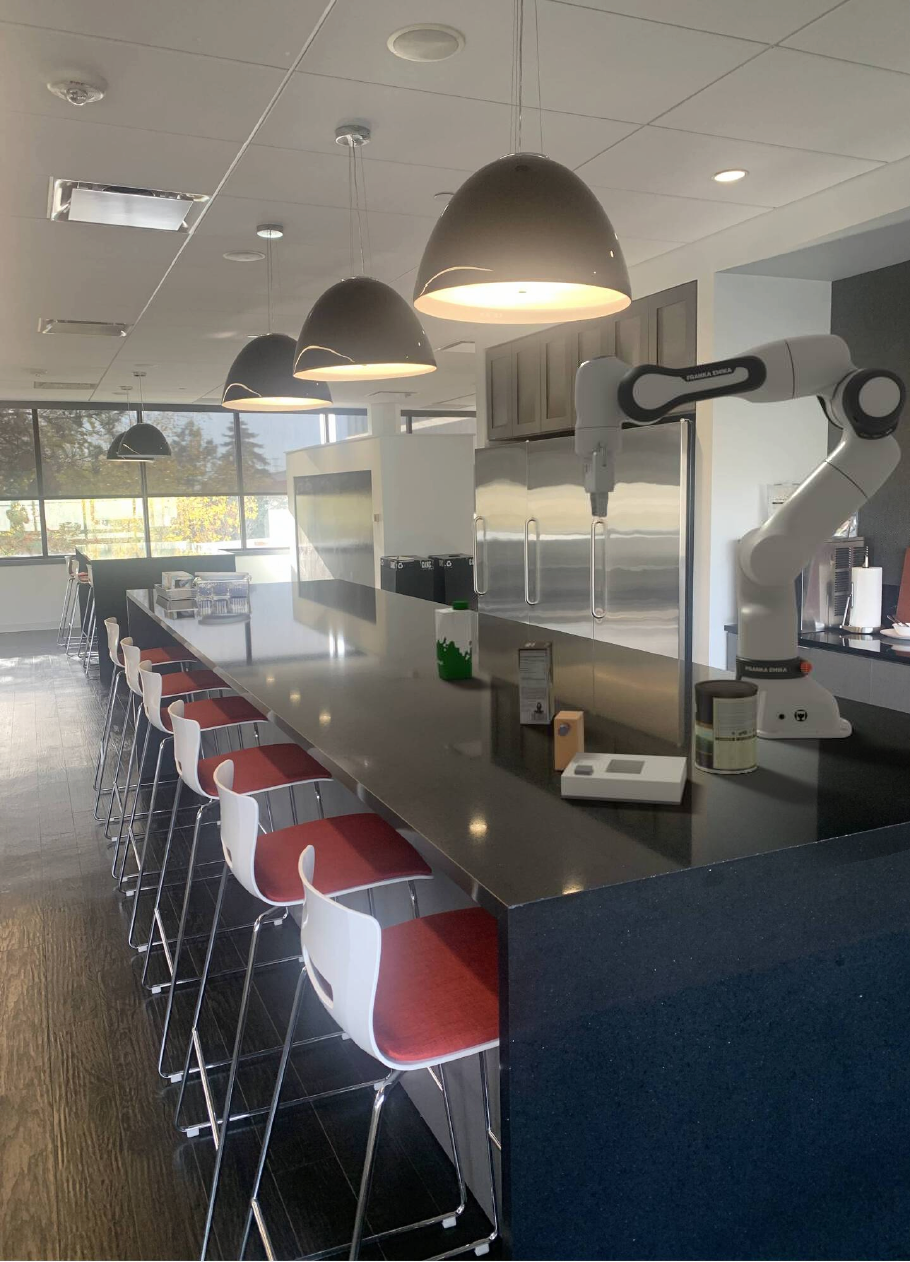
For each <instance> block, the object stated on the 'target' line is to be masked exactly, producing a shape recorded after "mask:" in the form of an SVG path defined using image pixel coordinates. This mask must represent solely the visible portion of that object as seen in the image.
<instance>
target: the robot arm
mask: <svg viewBox="0 0 910 1262" xmlns="http://www.w3.org/2000/svg"><path fill="white" fill-rule="evenodd" d="M851 359H852V358H851V351H850V348H849V346H848V345H847V343H846V342H845V340H844V339H843V338H842V337H841V336H838V335H837V334H834V333H833V334H832V333H831V334H829V333H827V334H826V333H825V334H823V333H822V334H821V333H820V334H819V333H818V334H808V335H807V334H805V335H797V336H794V337H788V338H782V339H777V340H774V341H769V342H765V343H763V344H759V345H757V346H754V347H752V348H749V349H747V350H745V351H743V352H740V353H738V354H736V355H734V356H732V357H729V358H726V359H723V360H719V361H713V362H708V363H702V364H697V365H691V366H686V367H679V368H671V367H665V366H661V365H657V364H650V363H646V364H645V363H644V364H641V365H637V366H635V367H634V366H632V365H629V364H627V363H626V362H624V361H622V360H621V359H619V358H618V357H617V356H615V355H602V356H596V357H593V358H590V359H588V360H585V361H583V362H582V364H580V366H579V367H578V368H577V370H576V375H575V381H574V382H575V383H574V384H575V385H574V409H575V412H576V421H575V422H576V423H575V426H574V438H575V439H574V441H575V443H574V444H575V445H574V447H575V449H574V451H575V453H574V454H576V455H578V457H581V458H580V459H581V460H580V461H581V462H580V464H581V472H582V480H583V481H582V482H583V488H584V493H586V494H589V500H590V505H591V506H590V508H591V509H590V510H591V516H592V517H597V518H606V517H607V516H608V503H609V493H613V492H614V491H615V461H616V454H617V453H618V454H619V453H620V454H621V453H622V452H623V449H622V447H623V446H622V443H623V442H622V440H623V436H622V435H623V434H622V428H623V427H622V424H623V422H626V423H631V424H635V425H639V426H649V425H652V424H654V423H657V422H658V421H660V420H661V419H662V418H663V417H664V416H665V415H668V413H670V412H671V411H673V410H675V409H676V408H678V407H680V406H683V405H686V404H687V405H688V404H693V403H697V402H702V401H708V400H709V401H710V400H714V399H718V398H726V397H727V398H728V397H729V398H730V397H731V398H740V399H743V400H745V401H747V402H749V403H753V404H766V403H767V404H769V403H778V402H785V401H790V400H795V399H800V398H805V397H810V396H812V397H813V396H816V399H817V401H818V403H819V404H820V407H821V409H822V411H823V413H824V415H825V418H826V419H827V420H828V421H829V423H830V424H831V425H832V426H834V427H836V428H838V429H839V430H841V431H842V436H841V439H840V441H839V442H838V444H837V445H836V447H835V449H833V450H832V451H831V452H830V453H829V454H828V455H827V456H826V457H825V458H824V459H822V461H821V462H820V463H819V464H818V465H817V466H816V467H815V468H814V469H813V470H812V471H811V472H810V473H809V474H808V475H807V476H806V477H805V478H804V479H802V481H801V482H800V483H799V484H798V485H797V486H796V487H795V488H794V489H793V490H792V491H791V493H790V494H788V497H787V498H786V499H785V500H784V501H783V502H782V504H781V505H780V506H779V507H778V508H777V510H775V512H774V513H773V514H772V515H771V516H770V517H769V519H768V520H766V522H765V523H764V524H763V525H762V526H759V527H755V528H753V529H751V530H749V531H747V533H745V534H744V535H743V536H742V537H741V538H740V539H739V541H738V543H737V545H736V549H735V555H734V556H735V559H734V560H735V581H736V585H735V586H736V601H737V602H736V604H737V654H736V656H735V661H734V680H741V681H747V682H751V683H754V684H756V685H758V691H757V737H759V738H763V739H833V738H835V739H838V738H839V739H840V738H841V739H843V738H847V737H849V736H851V734H852V732H853V731H852V730H853V729H852V725H851V723H850V721H848V720H847V719H845V718H843V717H841V716H840V710H839V704H838V702H837V699H836V698H835V697H834V695H833V694H832V693H831V692H830V691H828V689H826V688H824V687H823V686H822V685H821V684H820V683H818V682H816V680H814V679H813V678H811V677H810V676H809V673H811V671H812V670H813V667H812V663H811V662H809V660H807V659H806V658H804V657H801V656H799V655H798V650H799V649H798V644H799V643H798V637H799V636H798V633H799V614H798V609H797V608H798V607H797V598H796V587H795V585H796V584H795V580H796V579H797V577H798V576H800V575H801V573H802V572H803V571H804V570H805V569H806V567H808V565H809V564H810V563H812V561H813V560H814V559H815V557H816V556H817V555H818V554H819V553H820V552H821V550H822V549H823V548H824V547H825V545H826V544H827V543H828V542H829V540H831V539H832V537H833V536H834V534H836V532H838V530H839V529H840V528H841V527H842V526H843V525H844V524H845V523H847V521H848V520H849V519H851V518H852V517H853V515H855V514H856V513H857V511H859V510H860V508H861V507H862V506H863V505H865V504H866V502H868V501H869V500H870V499H871V498H872V496H873V495H875V493H876V492H877V491H878V490H879V489H880V488H881V487H882V486H883V484H884V483H885V482H886V481H887V480H888V478H889V477H890V476H891V474H892V473H893V471H894V470H895V469H896V467H897V465H898V464H899V463H900V460H901V456H902V453H901V448H900V446H899V444H898V442H897V440H896V439H895V438H894V437H893V436H892V434H894V433H895V432H896V431H897V428H898V426H899V421H900V418H901V415H902V413H903V410H904V407H905V405H906V401H907V388H906V384H905V383H904V381H903V380H902V378H901V377H900V375H899V374H897V373H895V372H894V371H893V370H891V369H889V368H886V367H880V366H873V367H868V368H867V367H866V368H858V367H857V366H856V365H854V363H853V361H852V360H851Z"/></svg>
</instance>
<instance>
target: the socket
mask: <svg viewBox="0 0 910 1262" xmlns="http://www.w3.org/2000/svg"><path fill="white" fill-rule="evenodd" d="M686 782H687V757H686V756H685V757H684V756H666V755H665V756H664V755H647V754H646V755H644V754H642V755H641V754H639V755H638V754H623V753H622V754H621V753H620V754H619V753H600V752H599V753H597V752H596V753H595V752H584V753H580V752H577V753H576V754H575V756H574V757H573V759H572V760H571V762H570V763H569V765H568V766H567V768H566V769H565V770H563V773H562V774H561V776H560V783H561V784H560V786H561V787H560V790H561V796H560V797H561V799H574V800H591V801H604V802H605V801H606V802H607V801H608V802H620V803H621V802H624V803H642V804H654V805H655V804H656V805H657V804H658V805H671V806H673V805H674V806H681V803H682V798H683V795H684V789H685V786H686Z"/></svg>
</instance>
